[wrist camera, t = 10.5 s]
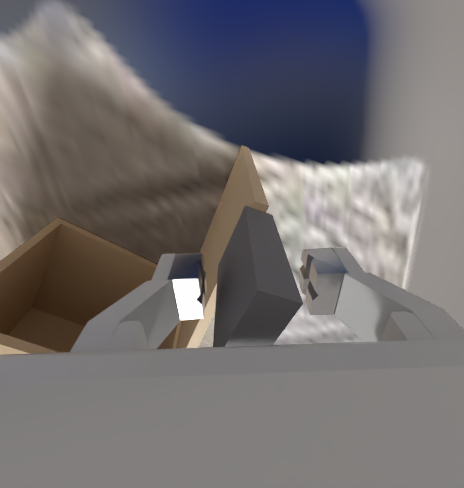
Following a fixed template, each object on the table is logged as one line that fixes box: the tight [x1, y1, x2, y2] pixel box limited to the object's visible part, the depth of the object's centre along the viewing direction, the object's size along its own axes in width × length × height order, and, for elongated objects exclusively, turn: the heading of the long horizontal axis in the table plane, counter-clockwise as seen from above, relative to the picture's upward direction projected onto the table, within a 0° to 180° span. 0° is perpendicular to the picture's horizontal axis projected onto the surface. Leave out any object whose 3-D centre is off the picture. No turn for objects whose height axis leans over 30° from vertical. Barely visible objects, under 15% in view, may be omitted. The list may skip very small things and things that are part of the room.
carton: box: [0, 218, 181, 355], centre depth 23 cm, size 14×13×12 cm
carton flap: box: [176, 145, 303, 348], centre depth 16 cm, size 14×1×17 cm, turn 159°
